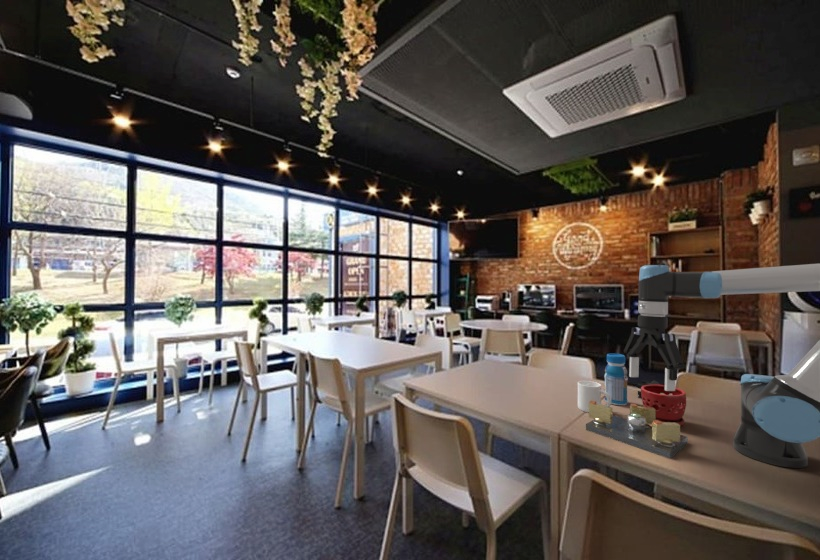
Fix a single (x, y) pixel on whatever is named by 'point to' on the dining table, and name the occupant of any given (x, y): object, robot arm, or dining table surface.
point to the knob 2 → (665, 432)
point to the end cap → (646, 384)
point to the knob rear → (644, 412)
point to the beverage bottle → (616, 379)
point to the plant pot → (665, 403)
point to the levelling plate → (636, 434)
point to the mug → (590, 394)
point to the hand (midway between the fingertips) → (650, 383)
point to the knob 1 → (600, 413)
